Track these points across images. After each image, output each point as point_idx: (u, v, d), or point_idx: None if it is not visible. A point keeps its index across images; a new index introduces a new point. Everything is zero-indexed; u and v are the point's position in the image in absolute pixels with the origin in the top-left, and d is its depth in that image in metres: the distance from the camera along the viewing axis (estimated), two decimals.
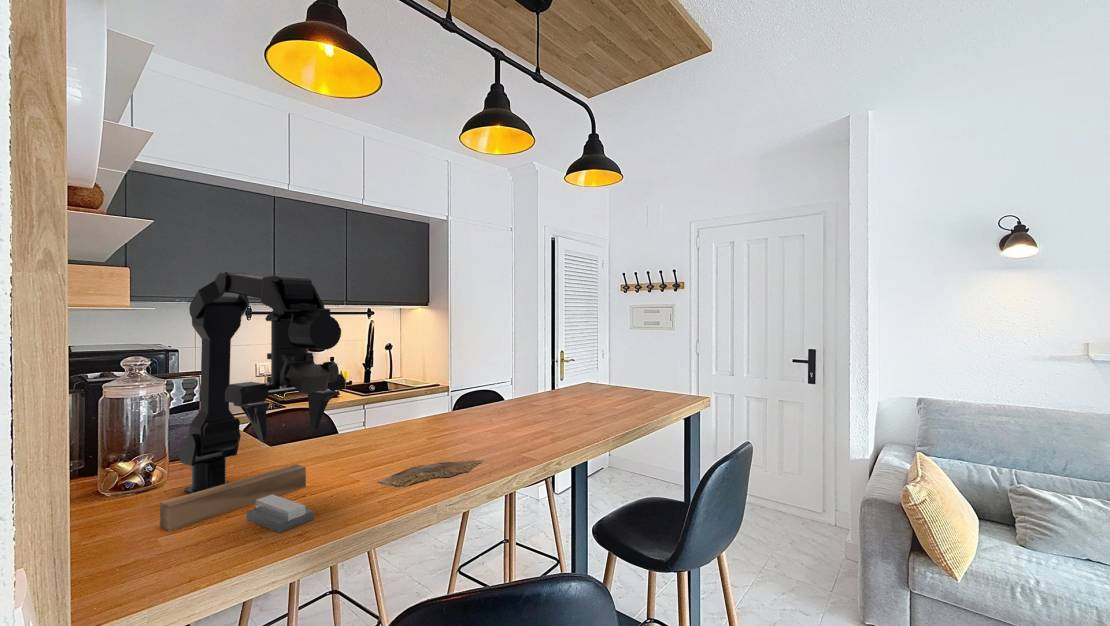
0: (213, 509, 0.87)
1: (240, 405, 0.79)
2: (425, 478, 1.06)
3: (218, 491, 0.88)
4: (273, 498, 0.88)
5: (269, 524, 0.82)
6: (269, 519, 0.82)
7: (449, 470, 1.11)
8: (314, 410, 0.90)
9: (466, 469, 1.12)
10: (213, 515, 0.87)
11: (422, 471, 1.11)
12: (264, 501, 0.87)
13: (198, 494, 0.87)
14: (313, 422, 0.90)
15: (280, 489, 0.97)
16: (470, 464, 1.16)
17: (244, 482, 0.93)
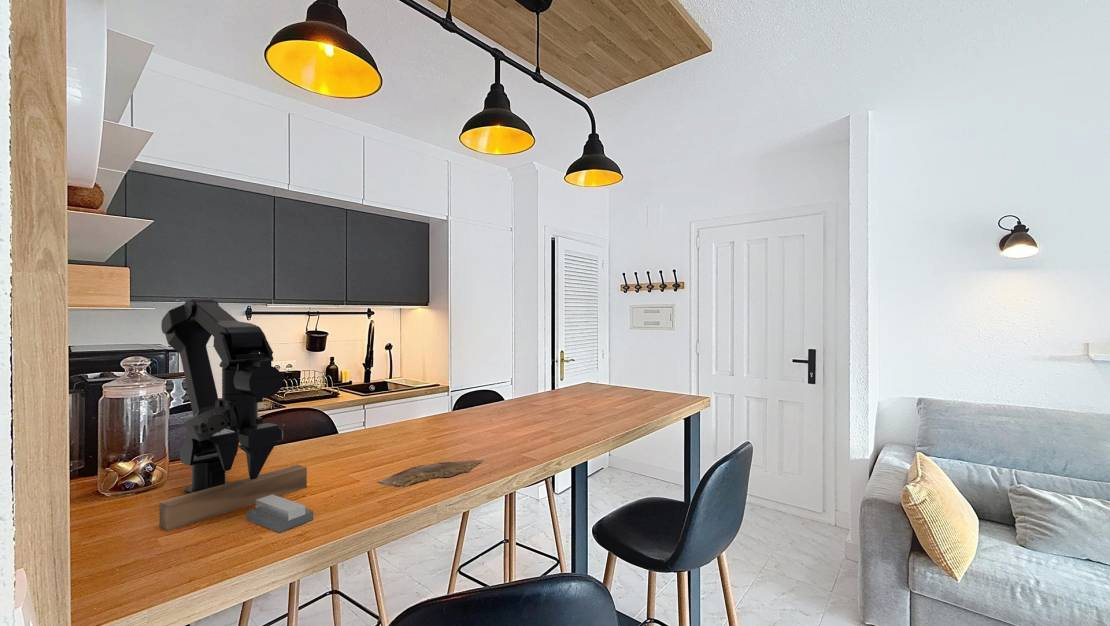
0: (212, 509, 0.87)
1: None
2: (425, 478, 1.06)
3: (217, 491, 0.88)
4: (273, 498, 0.88)
5: (269, 524, 0.82)
6: (269, 519, 0.82)
7: (449, 470, 1.11)
8: None
9: (466, 469, 1.12)
10: (212, 515, 0.87)
11: (422, 471, 1.11)
12: (264, 501, 0.87)
13: (198, 494, 0.87)
14: None
15: (280, 489, 0.97)
16: (470, 464, 1.16)
17: (244, 482, 0.93)
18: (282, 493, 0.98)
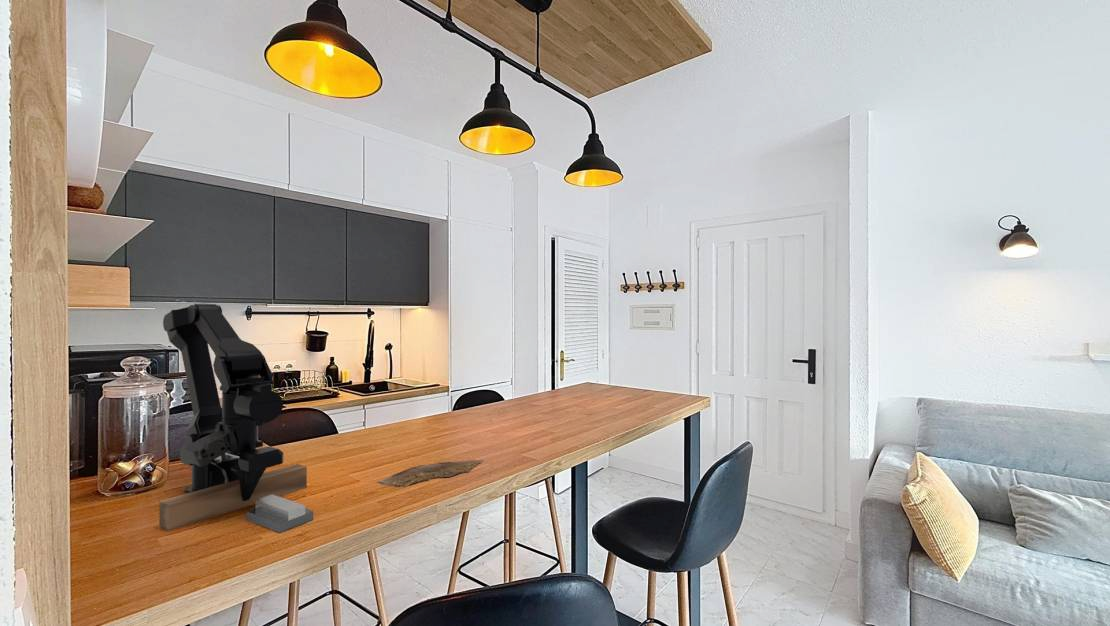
0: (212, 509, 0.87)
1: None
2: (425, 478, 1.06)
3: (217, 490, 0.88)
4: (273, 498, 0.88)
5: (269, 524, 0.82)
6: (269, 519, 0.82)
7: (449, 470, 1.11)
8: None
9: (466, 469, 1.12)
10: (212, 514, 0.87)
11: (422, 471, 1.11)
12: (264, 501, 0.87)
13: (198, 493, 0.87)
14: None
15: (280, 489, 0.97)
16: (470, 464, 1.16)
17: None
18: (282, 492, 0.98)
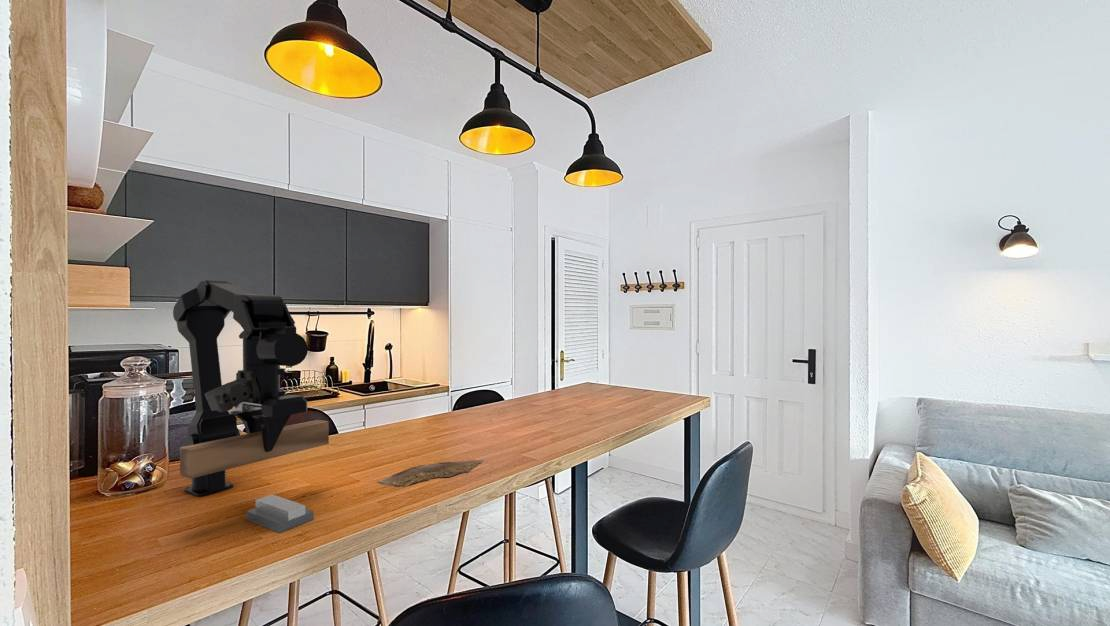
0: (234, 458, 0.83)
1: None
2: (425, 478, 1.06)
3: (239, 439, 0.84)
4: (273, 498, 0.88)
5: (269, 524, 0.82)
6: (269, 519, 0.82)
7: (449, 470, 1.11)
8: None
9: (466, 469, 1.12)
10: (234, 463, 0.83)
11: (422, 471, 1.11)
12: (264, 501, 0.87)
13: (219, 441, 0.83)
14: None
15: (302, 442, 0.93)
16: (470, 464, 1.16)
17: None
18: (304, 446, 0.94)
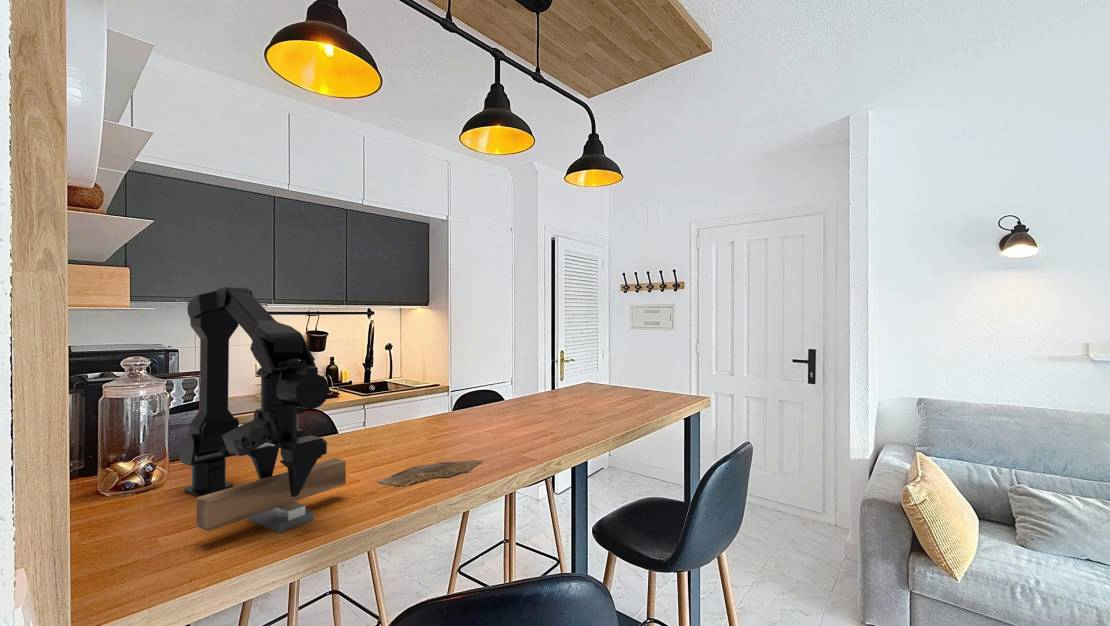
0: (252, 506, 0.80)
1: None
2: (425, 478, 1.06)
3: (257, 486, 0.81)
4: None
5: (269, 524, 0.82)
6: (269, 519, 0.82)
7: (449, 470, 1.11)
8: None
9: (466, 469, 1.12)
10: (252, 512, 0.80)
11: (422, 471, 1.11)
12: None
13: (237, 489, 0.80)
14: None
15: (320, 484, 0.91)
16: (470, 464, 1.16)
17: (283, 476, 0.86)
18: (321, 488, 0.91)
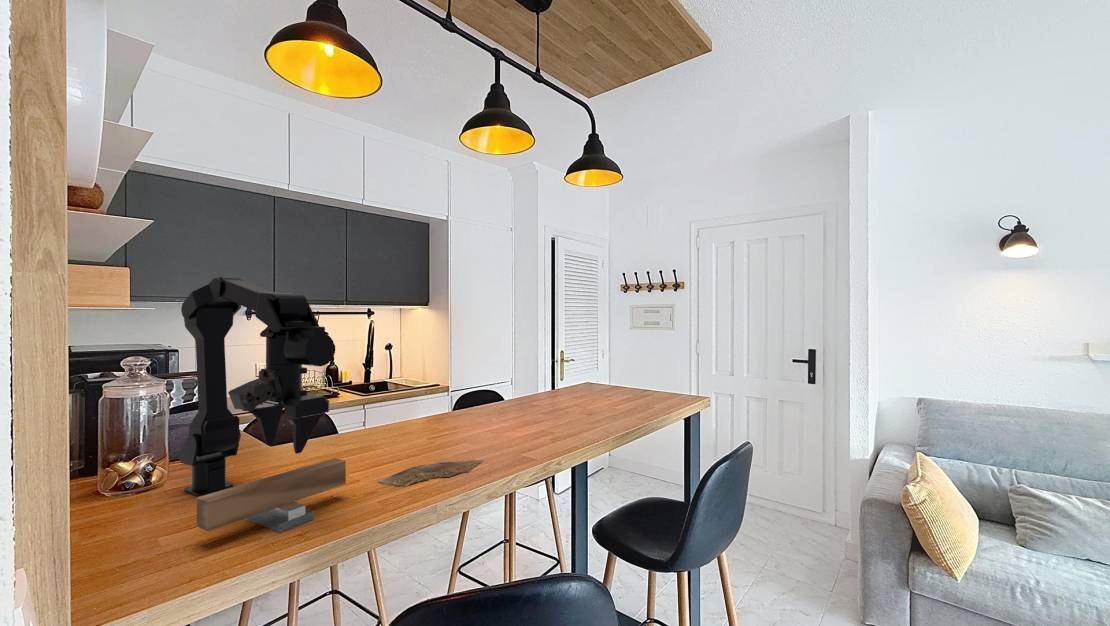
0: (252, 506, 0.80)
1: None
2: (425, 478, 1.06)
3: (257, 486, 0.81)
4: None
5: (269, 524, 0.82)
6: (269, 519, 0.82)
7: (449, 470, 1.11)
8: None
9: (466, 469, 1.12)
10: (252, 512, 0.80)
11: (422, 471, 1.11)
12: None
13: (237, 489, 0.80)
14: None
15: (320, 484, 0.91)
16: (470, 464, 1.16)
17: (283, 476, 0.86)
18: (321, 488, 0.91)
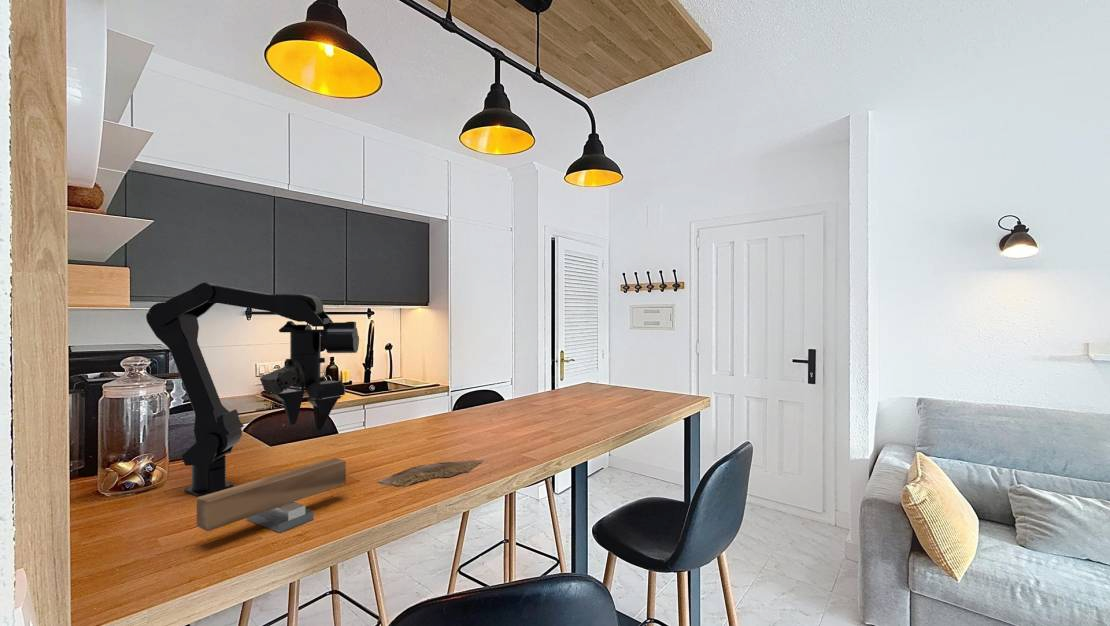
0: (252, 506, 0.80)
1: None
2: (425, 478, 1.06)
3: (257, 486, 0.81)
4: None
5: (269, 524, 0.82)
6: (269, 519, 0.82)
7: (449, 470, 1.11)
8: None
9: (466, 469, 1.12)
10: (252, 512, 0.80)
11: (422, 471, 1.11)
12: None
13: (237, 489, 0.80)
14: None
15: (320, 484, 0.91)
16: (470, 464, 1.16)
17: (283, 476, 0.86)
18: (321, 488, 0.91)
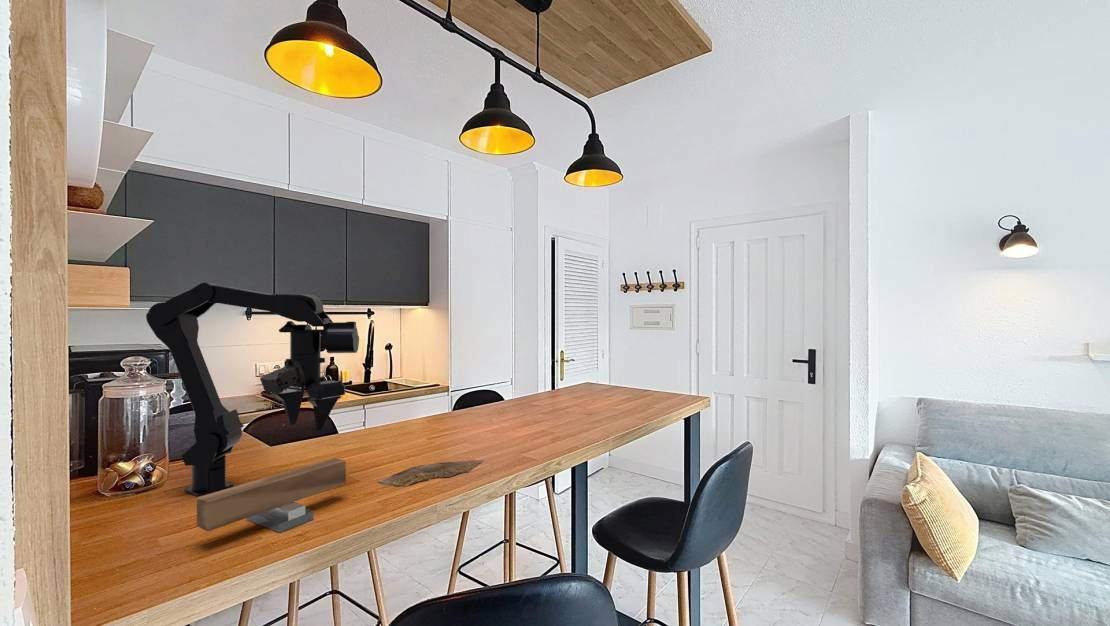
0: (252, 506, 0.80)
1: None
2: (425, 478, 1.06)
3: (257, 486, 0.81)
4: None
5: (269, 524, 0.82)
6: (269, 519, 0.82)
7: (449, 470, 1.11)
8: None
9: (466, 469, 1.12)
10: (252, 512, 0.80)
11: (422, 471, 1.11)
12: None
13: (237, 489, 0.80)
14: None
15: (320, 484, 0.91)
16: (470, 464, 1.16)
17: (283, 476, 0.86)
18: (321, 488, 0.91)
